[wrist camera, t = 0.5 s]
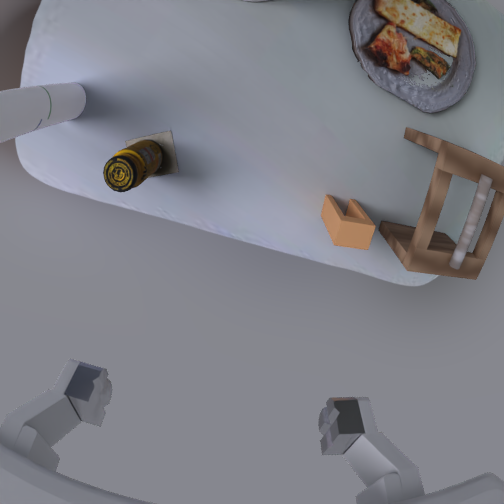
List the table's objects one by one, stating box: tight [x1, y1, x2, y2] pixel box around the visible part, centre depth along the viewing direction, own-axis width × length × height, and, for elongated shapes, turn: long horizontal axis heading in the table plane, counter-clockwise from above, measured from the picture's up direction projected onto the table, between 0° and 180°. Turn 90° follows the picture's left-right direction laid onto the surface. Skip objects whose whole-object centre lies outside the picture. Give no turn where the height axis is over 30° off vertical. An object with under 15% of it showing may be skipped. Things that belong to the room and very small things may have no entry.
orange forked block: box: [321, 195, 376, 250], centre depth 48 cm, size 4×6×11 cm
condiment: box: [103, 131, 179, 192], centre depth 43 cm, size 7×8×12 cm
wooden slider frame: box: [379, 127, 504, 280], centre depth 43 cm, size 20×16×16 cm
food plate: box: [349, 0, 476, 113], centre depth 36 cm, size 25×23×4 cm
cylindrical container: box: [0, 82, 86, 143], centre depth 32 cm, size 7×7×25 cm
